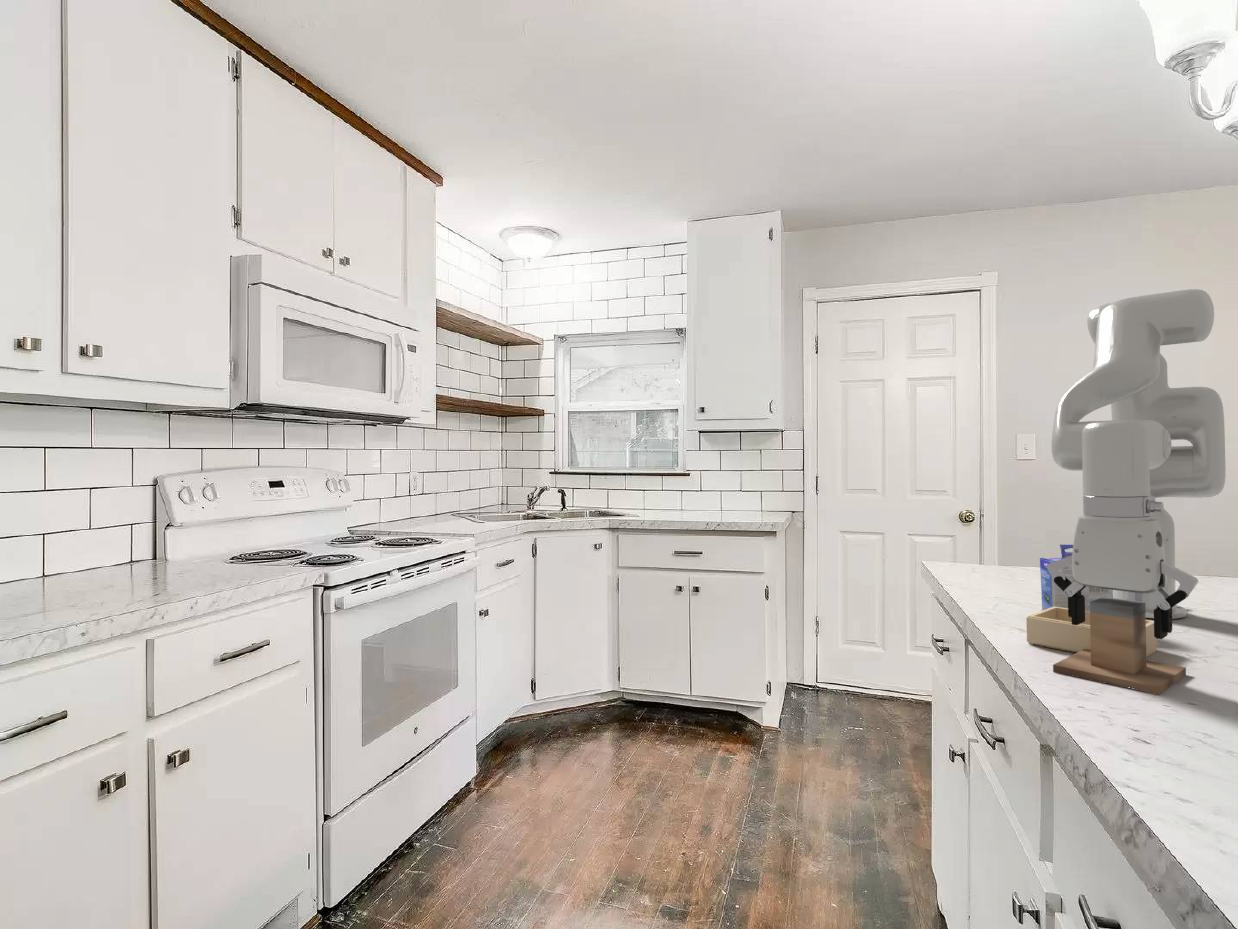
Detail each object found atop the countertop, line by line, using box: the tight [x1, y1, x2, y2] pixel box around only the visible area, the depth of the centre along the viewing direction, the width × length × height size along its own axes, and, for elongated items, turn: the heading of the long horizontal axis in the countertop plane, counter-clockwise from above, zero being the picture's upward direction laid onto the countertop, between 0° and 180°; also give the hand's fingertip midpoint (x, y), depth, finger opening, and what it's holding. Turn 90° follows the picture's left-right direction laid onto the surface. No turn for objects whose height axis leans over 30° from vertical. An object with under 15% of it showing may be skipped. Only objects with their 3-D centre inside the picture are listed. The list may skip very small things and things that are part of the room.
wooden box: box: [1026, 607, 1159, 658], centre depth 105 cm, size 11×14×4 cm
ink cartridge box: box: [1039, 544, 1113, 612], centre depth 117 cm, size 10×6×14 cm, turn 78°
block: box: [1090, 597, 1147, 674], centre depth 93 cm, size 5×5×9 cm
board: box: [1052, 649, 1187, 695], centre depth 93 cm, size 12×12×1 cm
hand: (1118, 630), depth 93 cm, fingers open, 9 cm apart
